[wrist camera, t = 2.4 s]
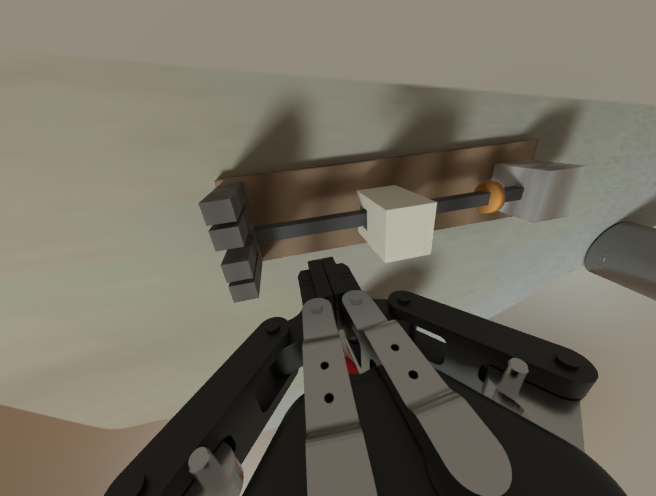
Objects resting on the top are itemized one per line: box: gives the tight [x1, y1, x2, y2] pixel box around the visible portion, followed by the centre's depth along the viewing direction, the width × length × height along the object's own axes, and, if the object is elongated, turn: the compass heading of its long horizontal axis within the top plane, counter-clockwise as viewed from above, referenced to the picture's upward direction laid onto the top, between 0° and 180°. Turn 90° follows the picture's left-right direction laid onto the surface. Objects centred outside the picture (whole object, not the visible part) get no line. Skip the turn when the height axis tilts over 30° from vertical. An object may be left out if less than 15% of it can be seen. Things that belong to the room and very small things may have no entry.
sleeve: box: [357, 185, 437, 263], centre depth 21 cm, size 4×4×7 cm
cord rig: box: [199, 140, 587, 303], centre depth 23 cm, size 35×9×8 cm, turn 95°
